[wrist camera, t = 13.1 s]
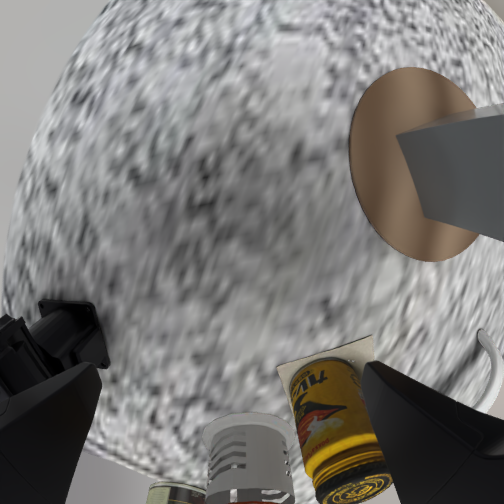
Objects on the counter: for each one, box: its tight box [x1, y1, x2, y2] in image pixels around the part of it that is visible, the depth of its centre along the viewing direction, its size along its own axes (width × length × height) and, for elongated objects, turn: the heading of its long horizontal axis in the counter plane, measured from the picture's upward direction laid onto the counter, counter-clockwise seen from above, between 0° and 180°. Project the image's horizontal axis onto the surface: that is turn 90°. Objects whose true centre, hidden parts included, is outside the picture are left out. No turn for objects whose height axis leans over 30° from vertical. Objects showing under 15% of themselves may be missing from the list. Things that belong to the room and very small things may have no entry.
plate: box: [349, 67, 479, 262], centre depth 18 cm, size 16×16×1 cm
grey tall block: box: [395, 103, 504, 242], centre depth 11 cm, size 7×7×14 cm
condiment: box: [276, 336, 393, 504], centre depth 17 cm, size 7×8×12 cm
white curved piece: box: [472, 329, 504, 414], centre depth 21 cm, size 24×12×7 cm, turn 145°
